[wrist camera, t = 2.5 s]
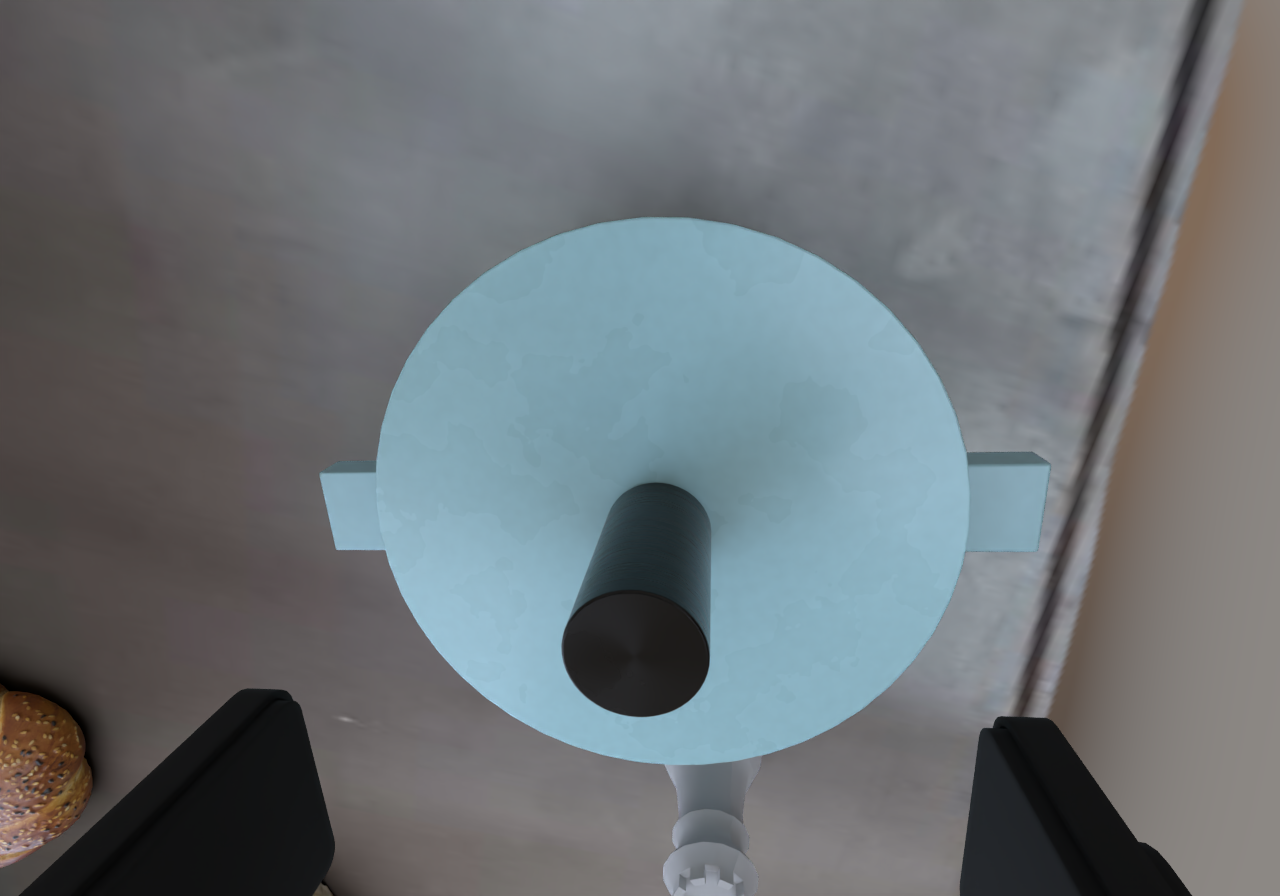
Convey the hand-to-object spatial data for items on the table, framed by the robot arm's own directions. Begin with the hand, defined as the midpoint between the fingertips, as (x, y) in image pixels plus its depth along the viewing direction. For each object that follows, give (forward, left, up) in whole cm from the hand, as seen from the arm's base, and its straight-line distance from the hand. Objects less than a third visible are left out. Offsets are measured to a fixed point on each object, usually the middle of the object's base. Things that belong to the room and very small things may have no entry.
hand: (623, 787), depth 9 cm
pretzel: (+17, -36, -17) cm, 43 cm away
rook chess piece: (+14, +1, -17) cm, 22 cm away
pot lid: (0, 0, -8) cm, 8 cm away
